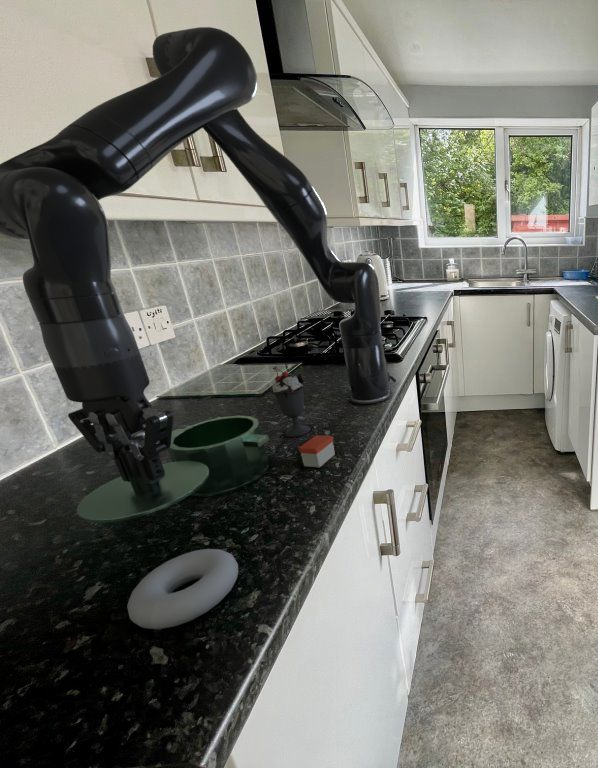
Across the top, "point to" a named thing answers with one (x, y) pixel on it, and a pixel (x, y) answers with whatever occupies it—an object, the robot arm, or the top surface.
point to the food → (317, 451)
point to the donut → (167, 609)
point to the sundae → (290, 400)
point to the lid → (141, 491)
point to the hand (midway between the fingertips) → (144, 479)
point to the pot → (223, 452)
